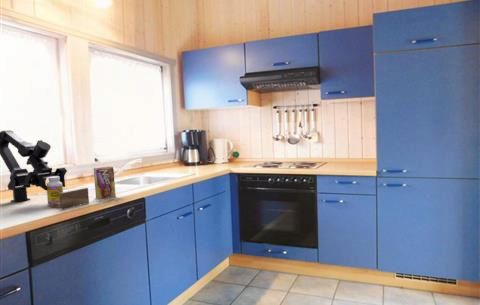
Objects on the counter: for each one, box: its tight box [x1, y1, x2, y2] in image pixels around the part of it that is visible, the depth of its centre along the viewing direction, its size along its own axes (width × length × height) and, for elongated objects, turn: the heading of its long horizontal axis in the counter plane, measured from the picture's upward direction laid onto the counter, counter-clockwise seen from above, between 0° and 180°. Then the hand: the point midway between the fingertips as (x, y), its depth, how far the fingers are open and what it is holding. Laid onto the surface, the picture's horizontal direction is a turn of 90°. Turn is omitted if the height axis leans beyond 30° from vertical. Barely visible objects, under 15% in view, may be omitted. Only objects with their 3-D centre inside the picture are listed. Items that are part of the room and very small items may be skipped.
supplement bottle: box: [46, 176, 64, 205], centre depth 173 cm, size 7×7×13 cm
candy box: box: [93, 166, 117, 200], centre depth 185 cm, size 9×4×15 cm, turn 129°
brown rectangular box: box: [48, 187, 90, 210], centre depth 169 cm, size 10×14×7 cm
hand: (55, 188), depth 172 cm, fingers open, 9 cm apart
